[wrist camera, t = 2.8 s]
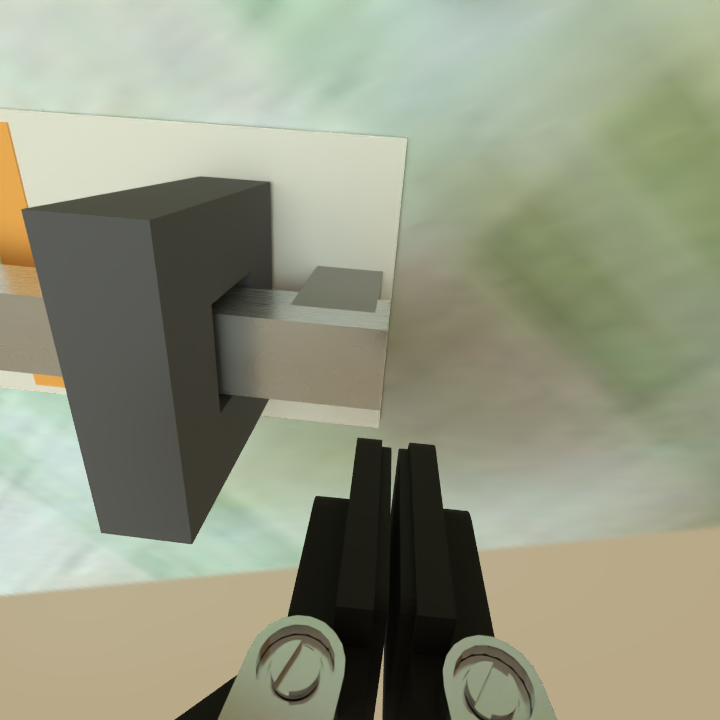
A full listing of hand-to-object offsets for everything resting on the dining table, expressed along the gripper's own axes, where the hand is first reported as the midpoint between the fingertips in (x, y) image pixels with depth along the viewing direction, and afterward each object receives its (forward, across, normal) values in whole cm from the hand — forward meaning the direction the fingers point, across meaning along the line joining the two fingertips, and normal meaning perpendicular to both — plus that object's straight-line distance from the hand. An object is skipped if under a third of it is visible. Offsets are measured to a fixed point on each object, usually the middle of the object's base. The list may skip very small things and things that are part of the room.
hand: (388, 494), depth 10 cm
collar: (+12, +7, 0) cm, 14 cm away
